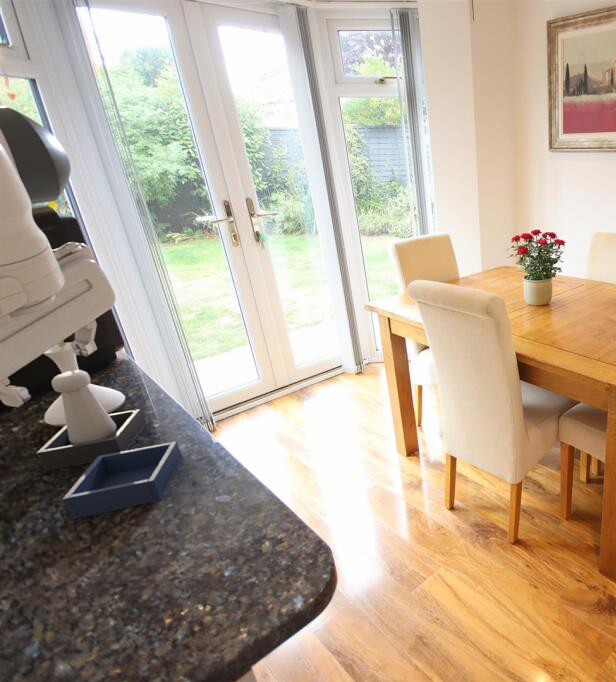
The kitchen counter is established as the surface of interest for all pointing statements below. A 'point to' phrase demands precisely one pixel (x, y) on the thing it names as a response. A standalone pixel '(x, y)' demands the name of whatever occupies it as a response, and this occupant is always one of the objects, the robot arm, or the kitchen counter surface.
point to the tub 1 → (91, 443)
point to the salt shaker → (82, 409)
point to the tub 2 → (124, 480)
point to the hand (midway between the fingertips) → (55, 375)
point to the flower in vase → (105, 396)
